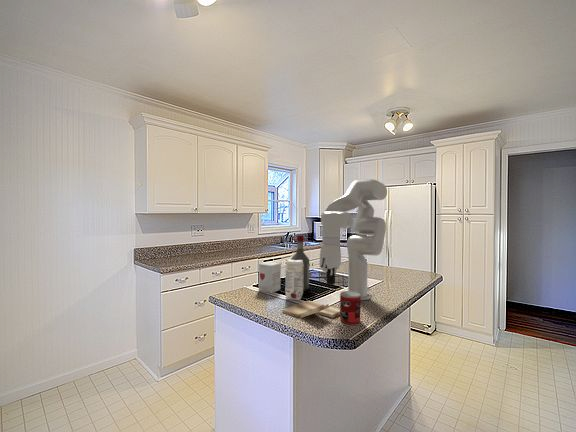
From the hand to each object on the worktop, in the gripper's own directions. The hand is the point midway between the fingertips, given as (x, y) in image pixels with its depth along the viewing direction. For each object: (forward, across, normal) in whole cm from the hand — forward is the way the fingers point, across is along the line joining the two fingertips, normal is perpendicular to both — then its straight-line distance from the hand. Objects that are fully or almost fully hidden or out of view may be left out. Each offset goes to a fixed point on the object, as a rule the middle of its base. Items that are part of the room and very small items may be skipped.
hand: (330, 283), depth 124 cm
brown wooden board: (+13, +5, -11) cm, 17 cm away
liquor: (+13, -21, -36) cm, 43 cm away
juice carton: (+13, -5, -26) cm, 29 cm away
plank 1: (+10, +9, -1) cm, 14 cm away
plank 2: (+13, 0, -1) cm, 13 cm away
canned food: (+13, +2, +10) cm, 17 cm away
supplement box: (+13, -6, -44) cm, 47 cm away
